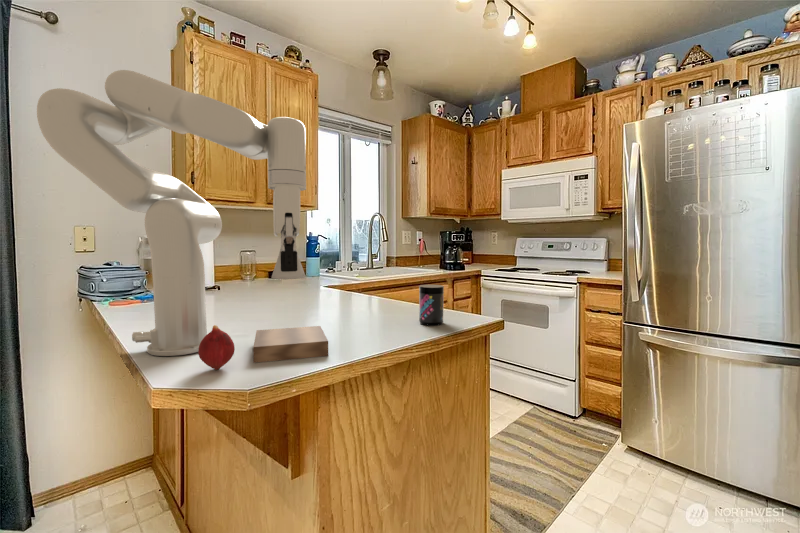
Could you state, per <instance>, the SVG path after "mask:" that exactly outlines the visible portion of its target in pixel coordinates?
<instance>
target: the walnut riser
mask: <svg viewBox="0 0 800 533" xmlns="http://www.w3.org/2000/svg"><path fill="white" fill-rule="evenodd" d="M254 336H255V337H254V342H253V346H252V347H253V350H252V351H253V363H255V364H256V363H264V362H273V361H274V362H275V361H286V360H287V361H288V360H297V359H306V358H318V357H329V340H328V338H327V336H326V334H325V332H324V330H323V328H322V327H321V325H313V326H301V327H300V326H299V327H298V326H297V327H284V328H273V329H272V328H270V329H258V330H256V332H255V335H254Z"/></svg>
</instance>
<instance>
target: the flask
mask: <svg viewBox="0 0 800 533" xmlns="http://www.w3.org/2000/svg"><path fill="white" fill-rule="evenodd" d="M283 235H284V233H283ZM293 235H294V233H293ZM284 246H285V243H284ZM297 250H298V249H296V252H297V271H289V272H282V271H281V252H282V243H281V242H280V250H279V253H278V256H277V260H276V262H275V265H274V267H273V268H274V269H273V272H272V275H271V279H273V280H275V279H277V280H296V279H305V278H307V276H306V272H305V271H304V268H303V265H302V262H301V259H300V256H299V254H298V251H297Z"/></svg>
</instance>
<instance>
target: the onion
mask: <svg viewBox="0 0 800 533" xmlns="http://www.w3.org/2000/svg"><path fill="white" fill-rule="evenodd" d="M235 349H236V348H235V343H234V340H233V339H232V338H231V336H230V334H228V333H227V332H226V331H223V330H222V329H220V328H219V327H218V325H217V324H214V325H213V326H212V327H211V330H210V332H207V335H206V336H205V337H204V338H203V339H202V341H201V343H200V345H199V351H198V352H197V354H198V356H199V359H200V360H201V362H203V363H204V364H205V365H206V366H208V367H210V368H211V369H213V370H215V371H217V370H219V369H221V368H222V367H223V366H226V364H227V363H228V362H230V360H231V359H232V358H233V356H234V354H235Z"/></svg>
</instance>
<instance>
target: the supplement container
mask: <svg viewBox="0 0 800 533" xmlns="http://www.w3.org/2000/svg"><path fill="white" fill-rule="evenodd" d="M444 288H445V287H444V285H441V284H420V285H418V290H419V291H418V292H419V294H418V295H419V298H418V299H419V301H418V304H419V305H418V306H419V308H418V311H419V312H418V313H419V318H418V319H419V320H418V321H419V324H421V325H423V326H428V327H429V326H430V327H432V326H433V327H434V326H435V327H437V326H440V325H442V324H443V323H444V298H445V297H444V293H445V290H444Z"/></svg>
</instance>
